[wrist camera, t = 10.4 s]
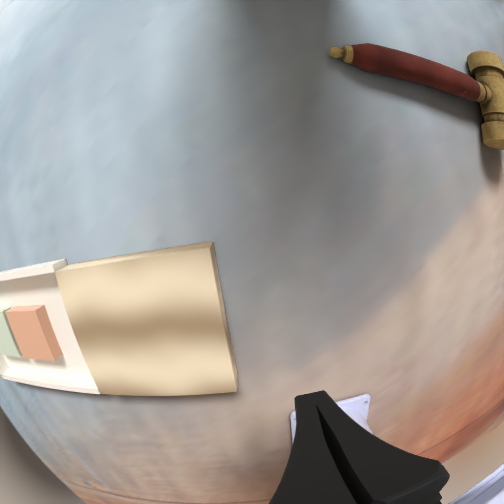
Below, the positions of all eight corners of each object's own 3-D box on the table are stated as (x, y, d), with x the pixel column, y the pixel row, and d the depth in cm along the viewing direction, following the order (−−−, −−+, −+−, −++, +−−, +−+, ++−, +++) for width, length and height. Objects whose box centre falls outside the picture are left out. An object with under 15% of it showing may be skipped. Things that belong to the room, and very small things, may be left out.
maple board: (237, 372, 21) (237, 391, 19) (110, 377, 21) (100, 393, 19) (213, 241, 19) (209, 248, 17) (71, 263, 19) (54, 271, 16)
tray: (107, 381, 21) (100, 394, 19) (10, 370, 21) (2, 378, 19) (65, 258, 19) (52, 264, 17) (-24, 276, 18) (-35, 281, 16)
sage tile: (-4, 353, 18) (4, 348, 20) (20, 357, 18) (27, 350, 20) (-20, 312, 17) (-12, 307, 19) (2, 311, 17) (10, 306, 19)
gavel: (344, 98, 15) (327, -8, 13) (327, 116, 19) (316, 20, 17) (527, 149, 14) (508, 61, 12) (499, 151, 19) (484, 71, 17)
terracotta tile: (62, 353, 20) (55, 360, 19) (31, 351, 20) (23, 357, 18) (44, 304, 19) (35, 310, 18) (14, 306, 19) (5, 311, 17)
